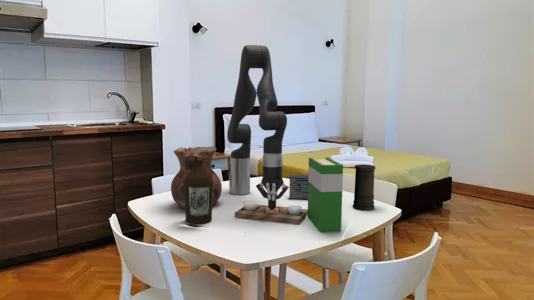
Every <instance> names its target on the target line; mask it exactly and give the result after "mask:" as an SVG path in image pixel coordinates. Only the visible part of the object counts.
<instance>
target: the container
mask: <svg viewBox="0 0 534 300" xmlns="http://www.w3.org/2000/svg"><path fill="white" fill-rule="evenodd" d="M354 169H355V170H354V171H355V175H354V176H355V178H354V194H353V198H354V199H353V204H352V208H353V209H355V210H357V211H364V210H367V211H372V210H373V211H374V210H375V199H374V198H375V195H374V194H375V193H374V192H375V190H374V189H375V172H376V171H375V170H376V166H375V165H372V164H355V165H354Z"/></svg>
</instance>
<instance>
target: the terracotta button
mask: <svg viewBox="0 0 534 300" xmlns="http://www.w3.org/2000/svg"><path fill="white" fill-rule="evenodd" d="M266 213H274V214H278V213H279V209H278V208H275V209H274V210H270V209H269V208H266Z"/></svg>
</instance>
